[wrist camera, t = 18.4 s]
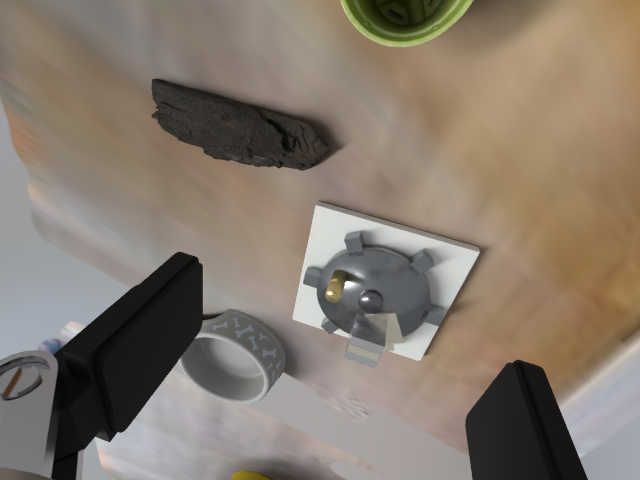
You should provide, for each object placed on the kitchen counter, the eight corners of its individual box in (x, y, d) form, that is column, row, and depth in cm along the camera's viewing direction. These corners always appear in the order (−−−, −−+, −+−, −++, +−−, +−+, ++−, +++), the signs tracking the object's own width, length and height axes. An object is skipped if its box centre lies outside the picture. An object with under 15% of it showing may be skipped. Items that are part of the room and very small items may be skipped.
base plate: (478, 246, 38) (479, 252, 37) (419, 354, 48) (419, 361, 47) (318, 201, 40) (315, 205, 39) (294, 313, 50) (292, 319, 49)
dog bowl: (171, 316, 58) (150, 338, 53) (259, 301, 51) (244, 326, 46) (218, 383, 64) (204, 408, 60) (302, 377, 57) (292, 406, 53)
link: (387, 323, 42) (384, 347, 39) (378, 343, 44) (375, 368, 41) (356, 313, 42) (351, 336, 39) (349, 334, 45) (343, 357, 41)
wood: (156, 139, 41) (139, 146, 39) (151, 75, 37) (132, 77, 35) (325, 188, 39) (318, 198, 37) (339, 125, 35) (333, 132, 33)
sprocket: (366, 203, 37) (360, 226, 32) (476, 292, 39) (485, 325, 34) (284, 291, 46) (270, 318, 41) (376, 359, 48) (372, 392, 43)
